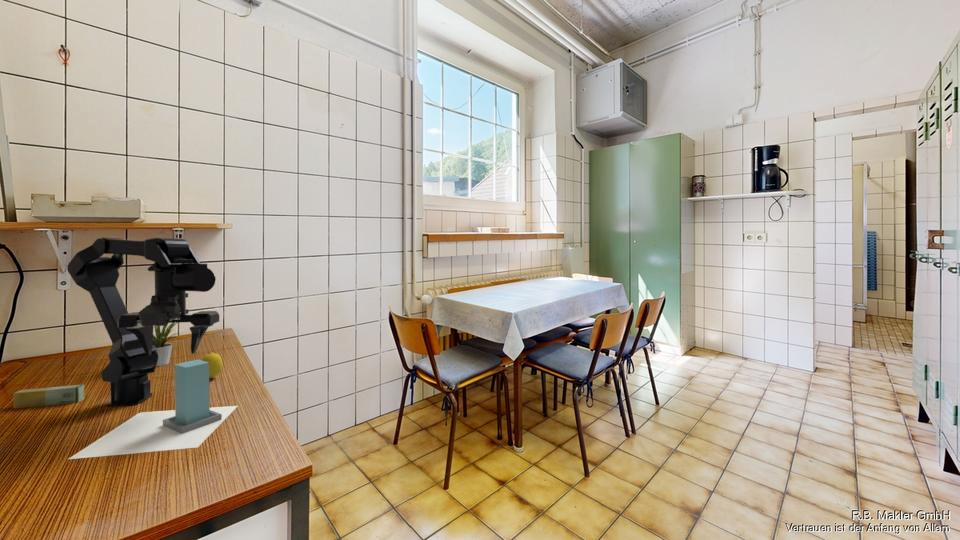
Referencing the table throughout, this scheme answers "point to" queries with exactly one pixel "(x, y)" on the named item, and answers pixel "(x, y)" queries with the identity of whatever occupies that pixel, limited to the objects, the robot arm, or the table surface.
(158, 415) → the baseplate
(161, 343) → the house plant
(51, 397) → the medication box
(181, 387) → the post
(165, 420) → the socket
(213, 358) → the lemon
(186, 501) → the table surface
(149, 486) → the table surface
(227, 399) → the table surface
